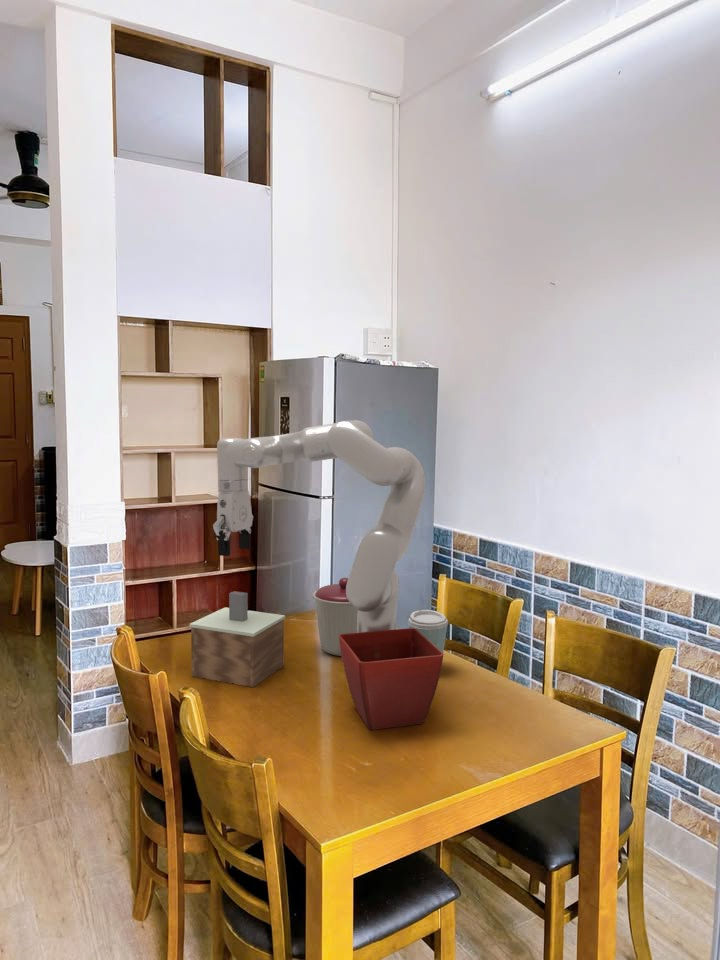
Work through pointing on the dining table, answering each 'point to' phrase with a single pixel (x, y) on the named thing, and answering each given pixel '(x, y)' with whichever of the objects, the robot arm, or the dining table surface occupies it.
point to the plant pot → (391, 675)
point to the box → (237, 655)
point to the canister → (334, 615)
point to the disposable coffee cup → (430, 626)
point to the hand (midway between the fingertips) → (234, 552)
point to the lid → (238, 618)
